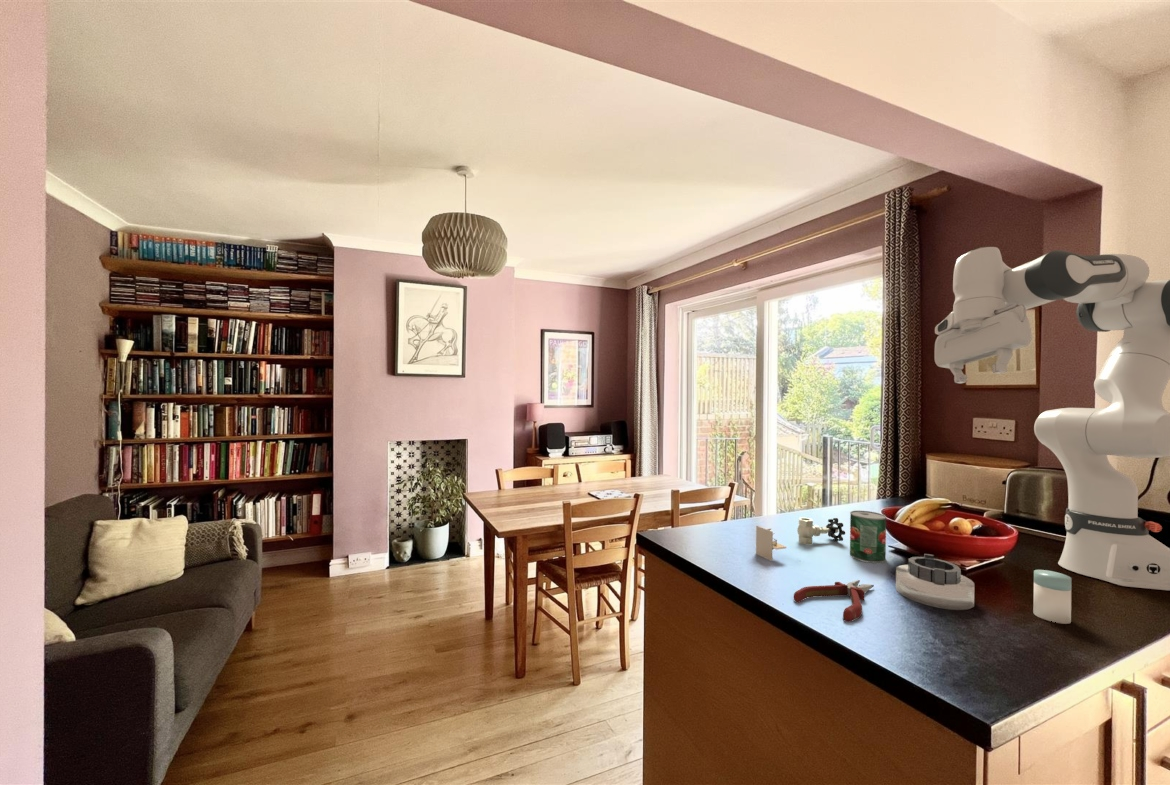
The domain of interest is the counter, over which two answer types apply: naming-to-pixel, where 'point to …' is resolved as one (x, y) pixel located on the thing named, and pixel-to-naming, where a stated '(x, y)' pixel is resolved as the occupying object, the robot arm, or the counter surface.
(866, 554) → the canned tomato
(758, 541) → the architectural model
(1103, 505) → the robot arm
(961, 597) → the ringed white base
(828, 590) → the pliers
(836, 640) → the counter surface
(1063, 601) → the jar with teal lid
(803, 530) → the valve
